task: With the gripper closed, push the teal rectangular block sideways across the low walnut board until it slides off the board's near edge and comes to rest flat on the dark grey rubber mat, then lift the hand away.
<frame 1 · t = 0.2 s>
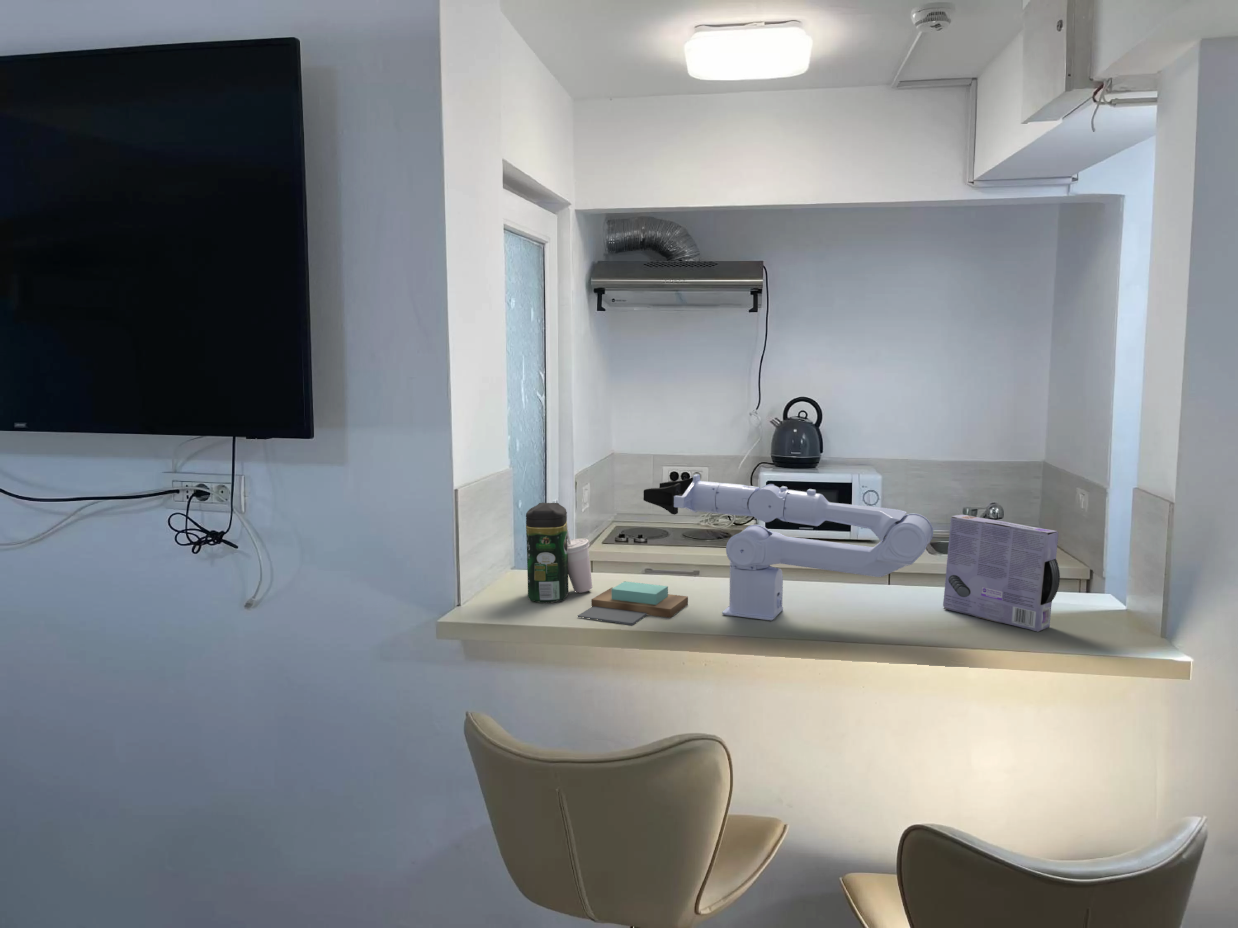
hand: (652, 491, 176), 21 cm above the countertop, tool horizontal, fingers open, 7 cm apart
smoothie: (583, 589, 185), on the countertop, touching coffee jar
mat: (612, 616, 169), on the countertop
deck: (639, 605, 175), on the countertop
cake pan box: (997, 619, 166), on the countertop
teal rectangular block: (639, 597, 175), point 2 cm above the countertop, touching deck
coffee jar: (547, 598, 181), on the countertop, touching smoothie
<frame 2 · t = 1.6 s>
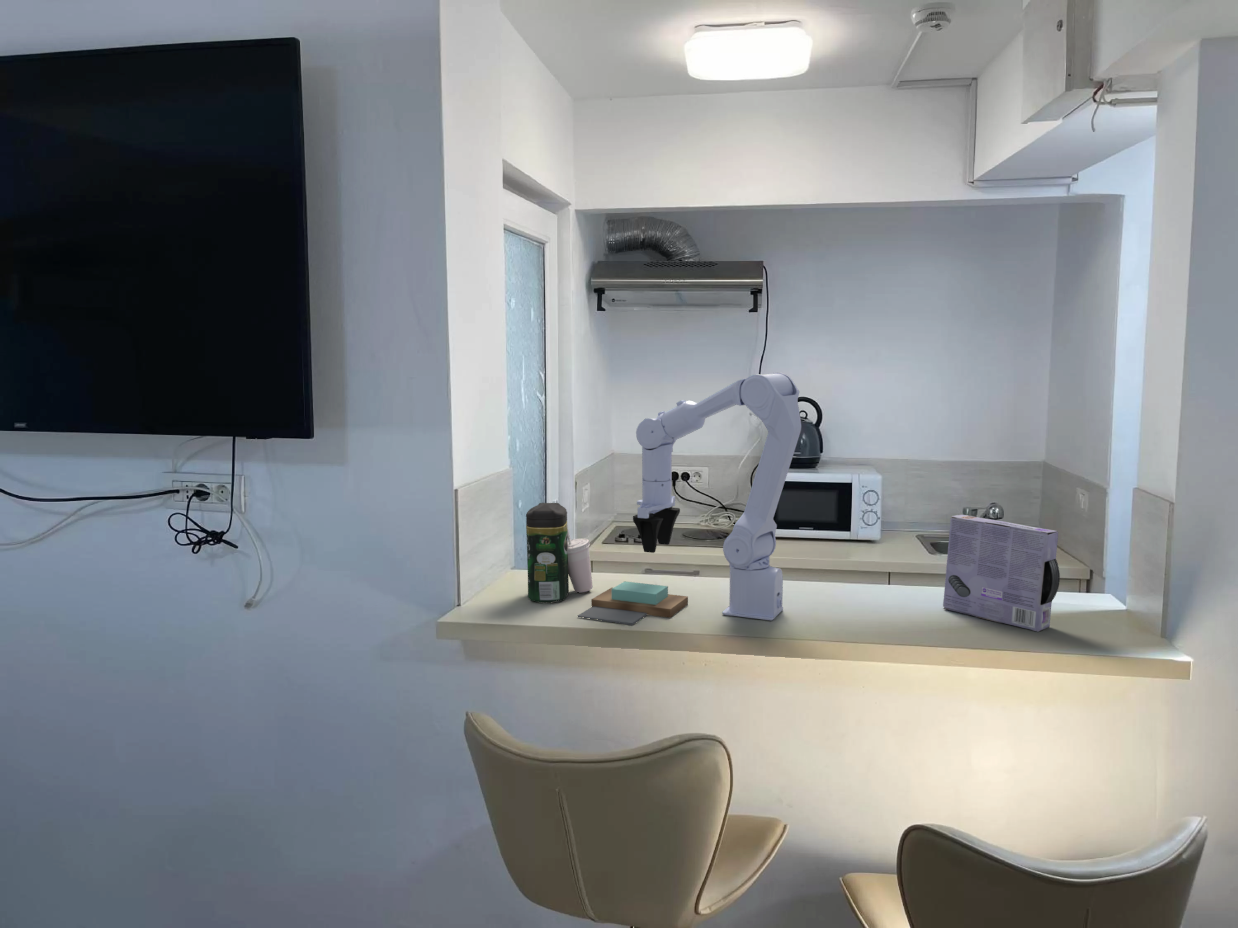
hand: (656, 548, 181), 9 cm above the countertop, tool pointing down, fingers open, 7 cm apart
nothing on the countertop moved.
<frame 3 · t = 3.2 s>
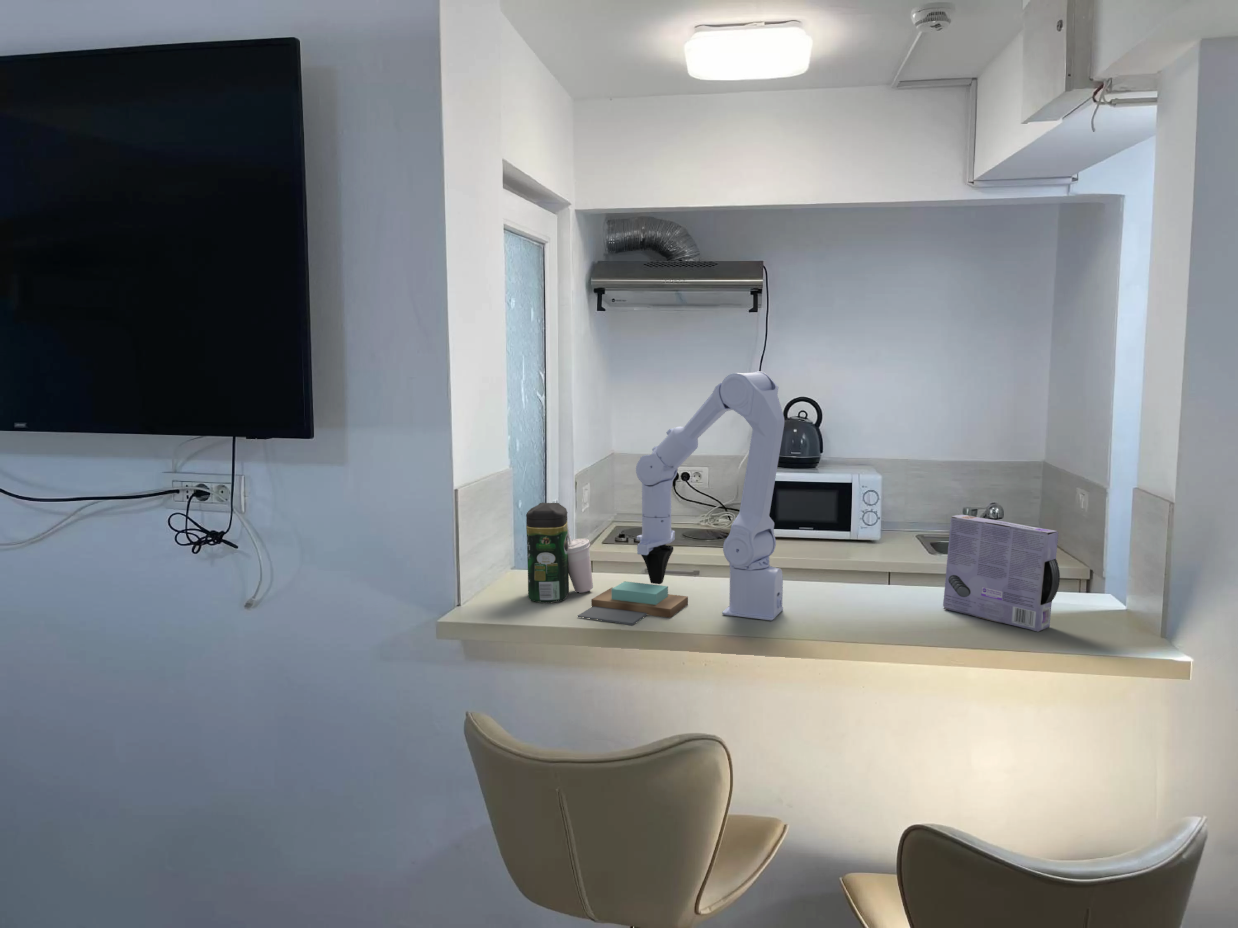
hand: (656, 582, 182), 2 cm above the countertop, tool pointing down, fingers closed
nothing on the countertop moved.
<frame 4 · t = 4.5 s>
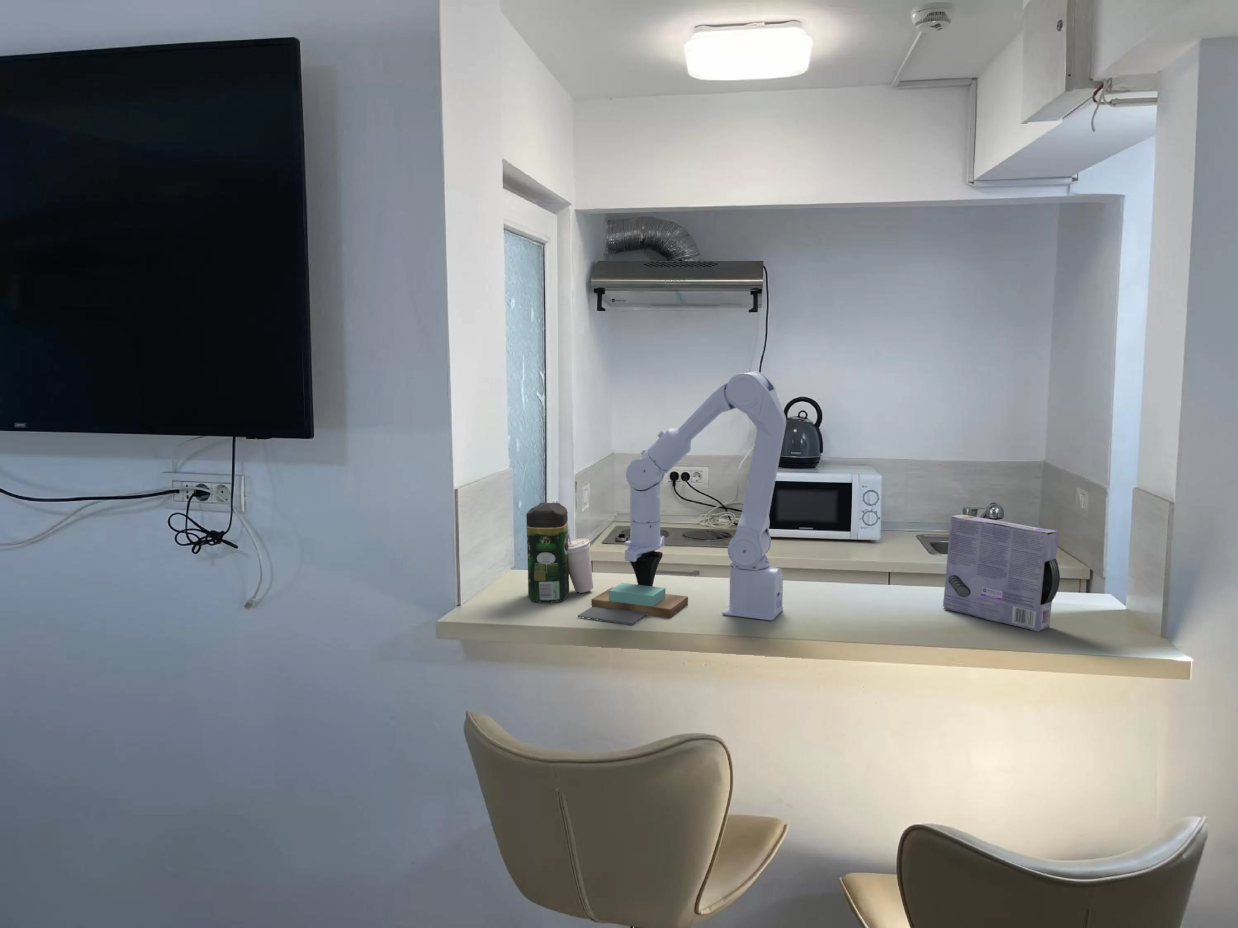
hand: (645, 590, 177), 2 cm above the countertop, tool pointing down, fingers closed
teal rectangular block: (637, 599, 174), point 2 cm above the countertop, touching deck, gripper
everything else where it was.
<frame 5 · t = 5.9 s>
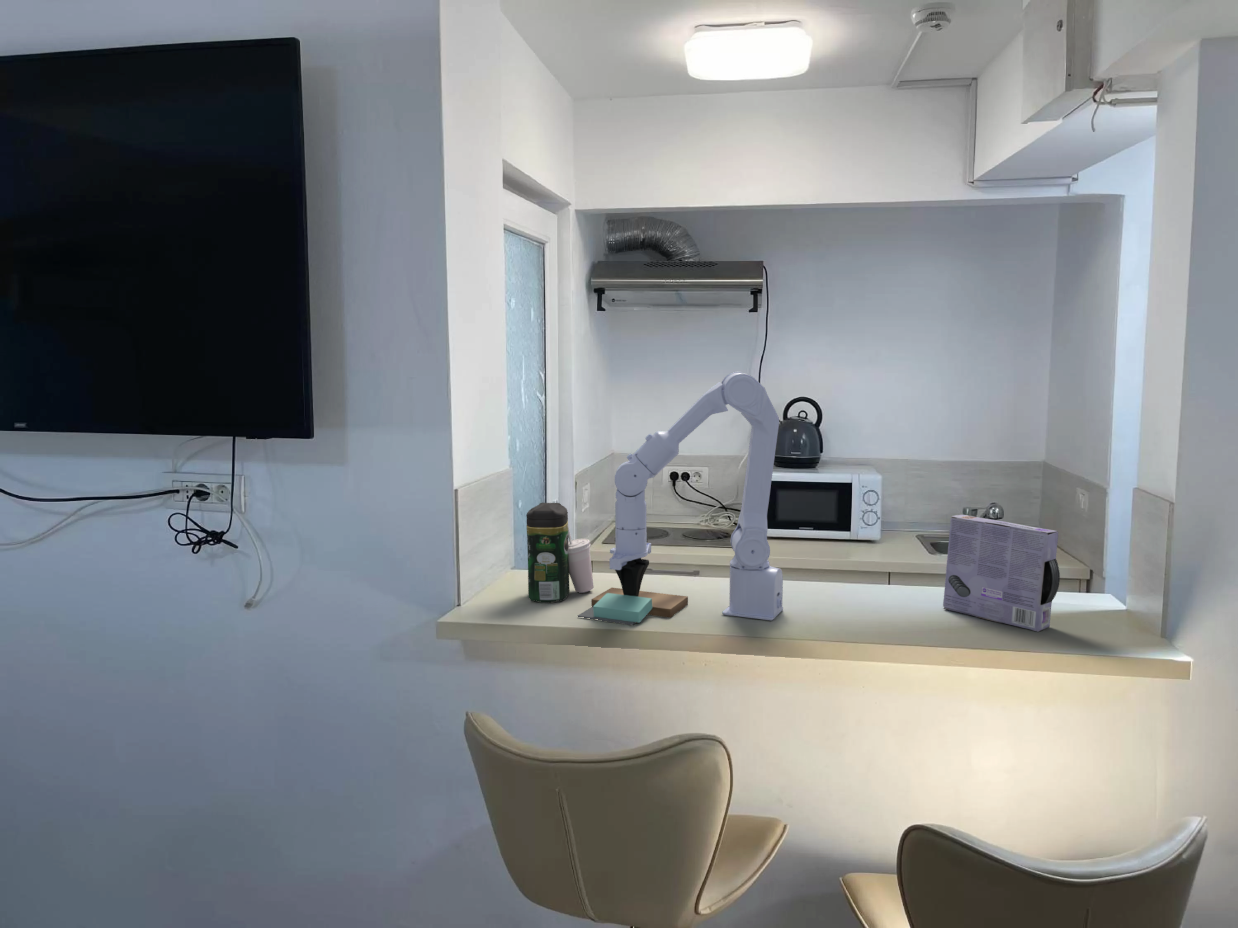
hand: (631, 599, 171), 2 cm above the countertop, tool pointing down, fingers closed
teal rectangular block: (623, 612, 168), point 1 cm above the countertop, tilted 9°
everything else where it was.
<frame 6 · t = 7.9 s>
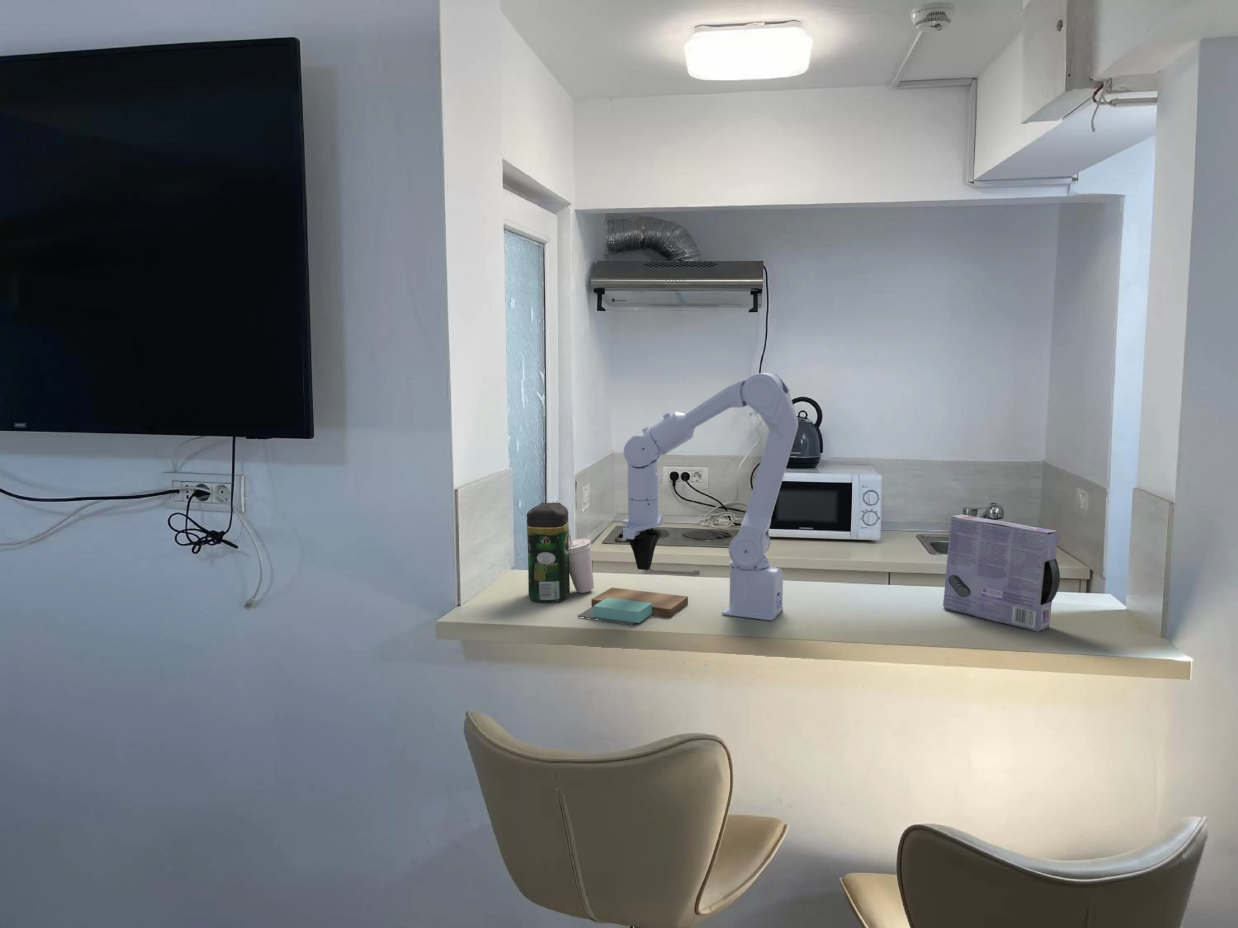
hand: (643, 568, 175), 7 cm above the countertop, tool pointing down, fingers closed
teal rectangular block: (622, 615, 168), resting on mat
everything else where it was.
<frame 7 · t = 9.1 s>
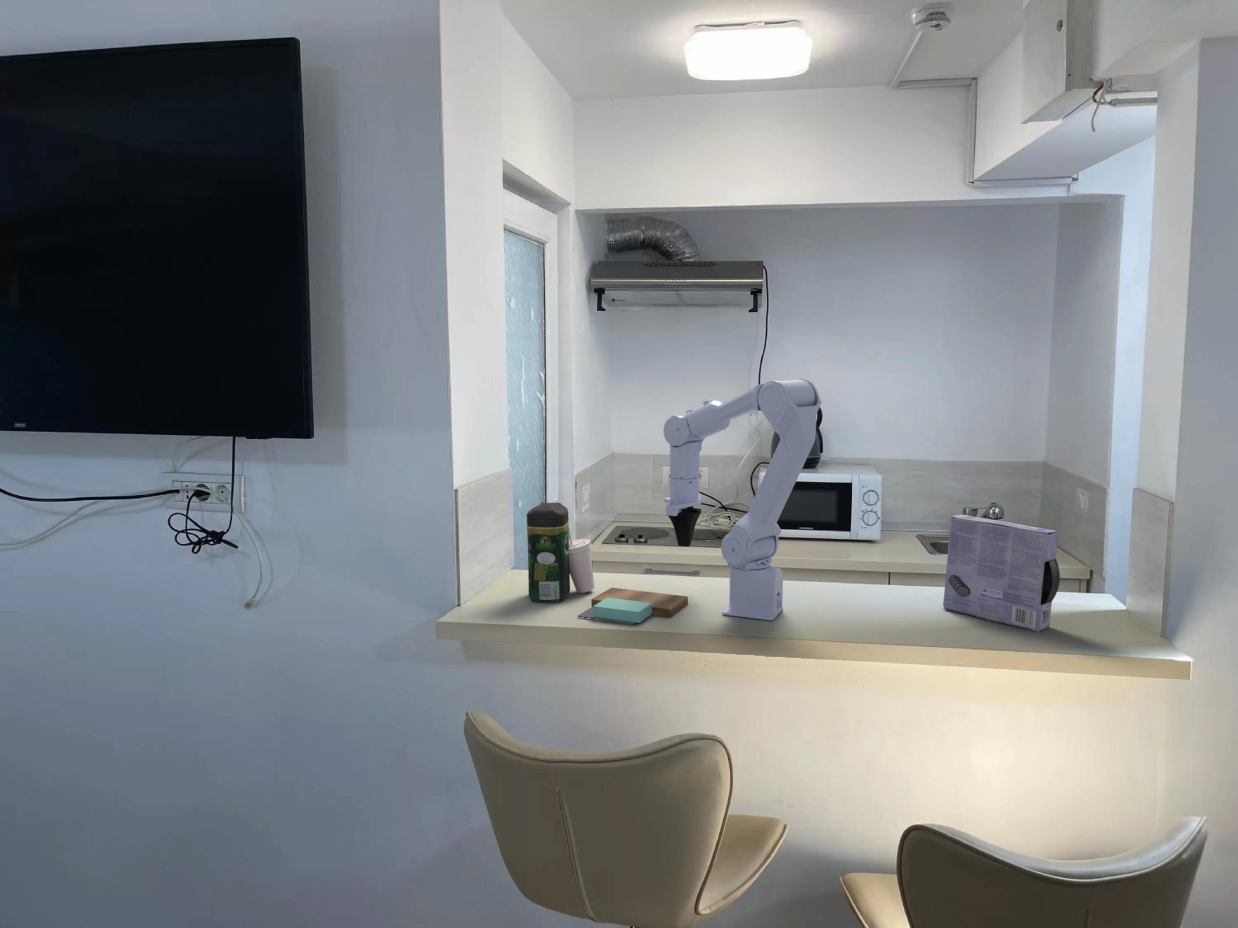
hand: (684, 545, 181), 10 cm above the countertop, tool pointing down, fingers closed
nothing on the countertop moved.
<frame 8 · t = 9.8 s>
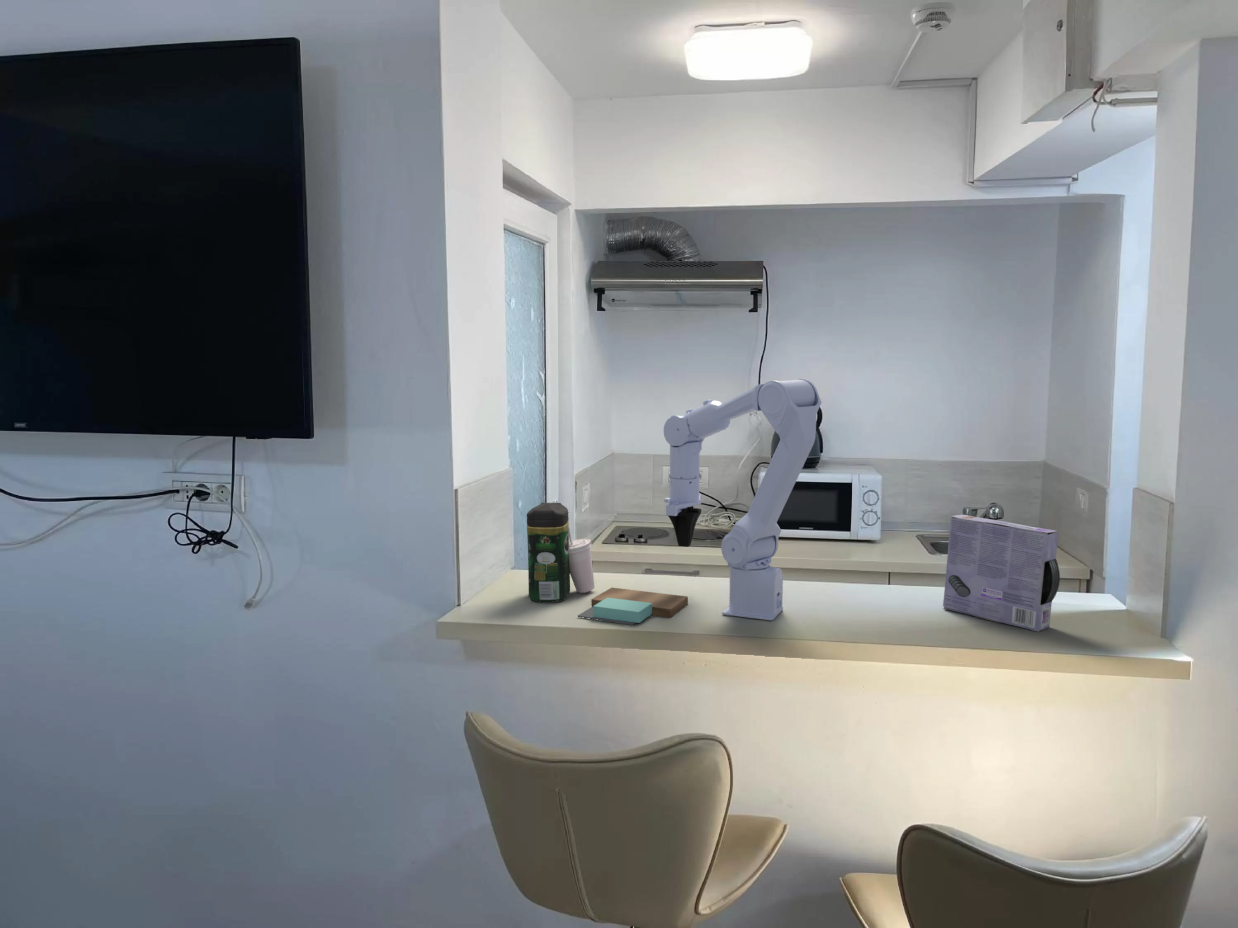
hand: (684, 545, 181), 10 cm above the countertop, tool pointing down, fingers closed
nothing on the countertop moved.
at the end: teal rectangular block resting on mat; teal rectangular block inside the target area on the mat (2.0 cm from its centre), point 0.4 cm above the mat's base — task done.
